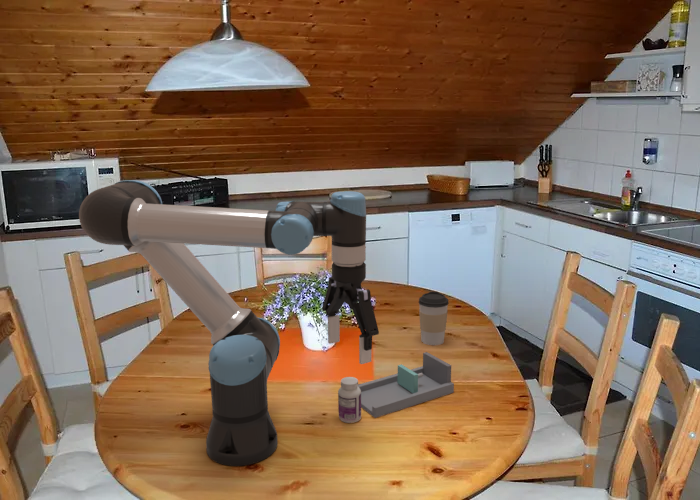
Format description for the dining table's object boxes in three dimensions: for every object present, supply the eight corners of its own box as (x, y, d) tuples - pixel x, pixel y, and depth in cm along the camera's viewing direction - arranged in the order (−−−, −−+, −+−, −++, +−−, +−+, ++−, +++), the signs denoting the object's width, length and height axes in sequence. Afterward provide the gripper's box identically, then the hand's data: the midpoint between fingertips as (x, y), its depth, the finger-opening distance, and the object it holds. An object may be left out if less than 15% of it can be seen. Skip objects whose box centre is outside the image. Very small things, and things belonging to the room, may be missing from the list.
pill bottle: (348, 410, 148) (348, 373, 145) (365, 417, 144) (365, 379, 142) (333, 418, 144) (333, 381, 141) (351, 426, 140) (351, 387, 138)
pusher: (413, 394, 152) (414, 375, 151) (397, 383, 158) (397, 365, 157) (430, 388, 155) (430, 370, 154) (413, 378, 161) (413, 360, 160)
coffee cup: (447, 347, 184) (448, 300, 180) (417, 345, 185) (417, 298, 182) (447, 336, 193) (448, 290, 189) (418, 334, 194) (419, 289, 190)
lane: (375, 417, 144) (375, 390, 142) (347, 396, 154) (347, 371, 152) (453, 392, 156) (454, 367, 154) (423, 374, 166) (423, 350, 165)
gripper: (396, 273, 127) (394, 367, 132) (334, 248, 147) (335, 331, 152) (365, 278, 123) (365, 376, 128) (307, 252, 143) (308, 337, 149)
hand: (349, 352), depth 140 cm, fingers open, 13 cm apart
